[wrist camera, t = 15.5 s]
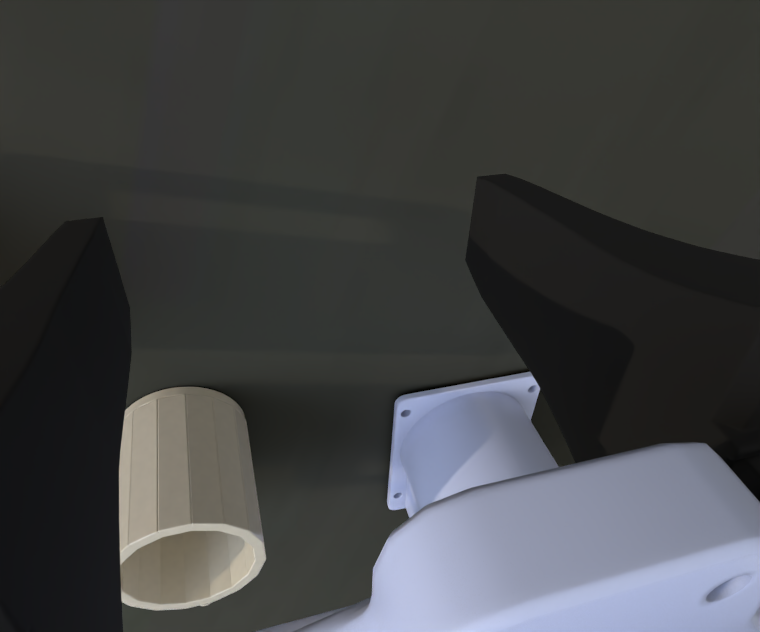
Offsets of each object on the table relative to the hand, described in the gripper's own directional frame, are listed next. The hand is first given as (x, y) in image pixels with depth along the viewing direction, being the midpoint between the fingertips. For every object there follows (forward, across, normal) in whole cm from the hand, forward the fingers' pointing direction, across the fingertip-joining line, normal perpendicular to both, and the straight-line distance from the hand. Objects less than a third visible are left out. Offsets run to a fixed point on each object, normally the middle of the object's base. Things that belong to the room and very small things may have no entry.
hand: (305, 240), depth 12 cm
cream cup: (+9, +5, +16) cm, 20 cm away
